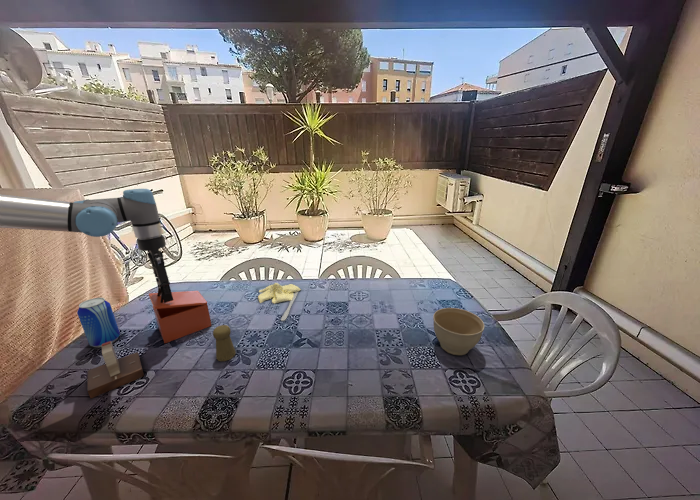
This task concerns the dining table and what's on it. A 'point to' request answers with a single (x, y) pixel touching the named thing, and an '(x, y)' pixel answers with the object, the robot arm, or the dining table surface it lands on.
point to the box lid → (177, 299)
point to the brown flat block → (103, 382)
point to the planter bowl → (457, 330)
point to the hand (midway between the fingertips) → (166, 296)
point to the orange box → (181, 321)
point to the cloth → (278, 293)
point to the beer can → (98, 321)
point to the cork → (223, 343)
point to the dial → (110, 358)
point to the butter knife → (289, 307)
